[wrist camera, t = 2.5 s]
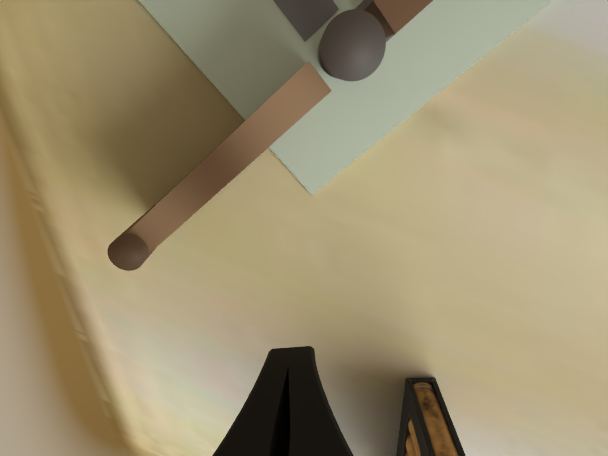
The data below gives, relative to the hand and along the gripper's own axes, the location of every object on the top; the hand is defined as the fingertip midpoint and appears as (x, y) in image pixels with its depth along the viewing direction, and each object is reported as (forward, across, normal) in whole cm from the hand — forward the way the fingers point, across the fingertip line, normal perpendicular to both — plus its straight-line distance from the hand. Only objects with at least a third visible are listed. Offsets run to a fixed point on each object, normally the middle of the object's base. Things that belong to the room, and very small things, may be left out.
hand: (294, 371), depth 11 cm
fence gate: (+8, +3, -5) cm, 10 cm away
